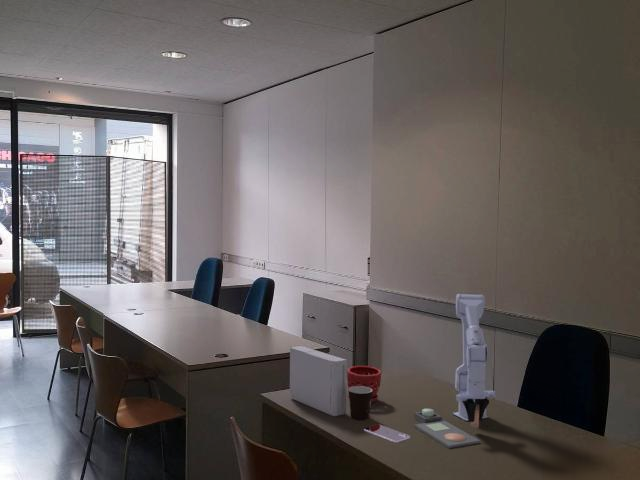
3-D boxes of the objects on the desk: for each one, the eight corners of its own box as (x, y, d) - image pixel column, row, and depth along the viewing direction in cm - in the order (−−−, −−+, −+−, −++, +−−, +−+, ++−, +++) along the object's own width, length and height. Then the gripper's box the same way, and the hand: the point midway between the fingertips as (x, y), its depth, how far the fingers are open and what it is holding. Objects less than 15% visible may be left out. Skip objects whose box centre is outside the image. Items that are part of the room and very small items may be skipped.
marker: (475, 424, 208) (476, 403, 207) (480, 426, 205) (481, 406, 205) (469, 425, 207) (469, 404, 206) (474, 427, 204) (474, 407, 204)
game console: (333, 417, 219) (334, 362, 218) (289, 398, 240) (289, 347, 239) (346, 414, 223) (347, 359, 222) (300, 395, 244) (301, 345, 243)
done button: (429, 414, 220) (429, 408, 220) (435, 418, 216) (436, 411, 216) (419, 416, 218) (420, 409, 218) (426, 419, 215) (426, 412, 215)
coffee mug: (364, 423, 213) (365, 394, 213) (343, 418, 218) (343, 390, 217) (379, 414, 223) (380, 386, 223) (358, 409, 228) (359, 382, 227)
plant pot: (341, 402, 235) (342, 372, 235) (353, 393, 247) (353, 364, 247) (374, 407, 230) (375, 376, 230) (384, 397, 242) (385, 367, 242)
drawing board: (443, 422, 215) (443, 419, 215) (480, 442, 197) (480, 440, 197) (414, 426, 211) (414, 424, 211) (448, 448, 192) (448, 445, 192)
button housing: (430, 415, 222) (430, 410, 222) (441, 422, 216) (441, 416, 215) (413, 418, 219) (414, 412, 219) (424, 424, 213) (424, 418, 213)
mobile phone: (377, 422, 212) (411, 435, 201) (377, 425, 212) (411, 438, 201) (362, 427, 207) (396, 441, 196) (362, 430, 207) (396, 444, 196)
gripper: (465, 385, 198) (464, 427, 199) (501, 381, 204) (500, 421, 205) (452, 380, 205) (451, 420, 206) (487, 375, 211) (486, 414, 211)
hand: (474, 420), depth 206 cm, fingers closed on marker, 3 cm apart
